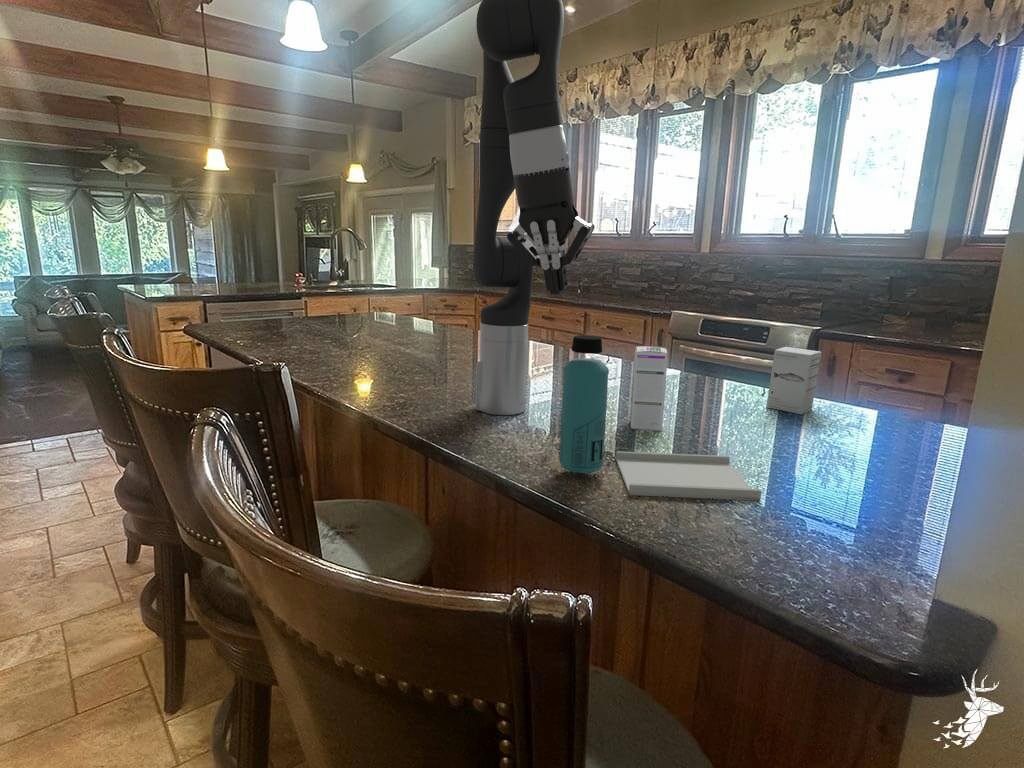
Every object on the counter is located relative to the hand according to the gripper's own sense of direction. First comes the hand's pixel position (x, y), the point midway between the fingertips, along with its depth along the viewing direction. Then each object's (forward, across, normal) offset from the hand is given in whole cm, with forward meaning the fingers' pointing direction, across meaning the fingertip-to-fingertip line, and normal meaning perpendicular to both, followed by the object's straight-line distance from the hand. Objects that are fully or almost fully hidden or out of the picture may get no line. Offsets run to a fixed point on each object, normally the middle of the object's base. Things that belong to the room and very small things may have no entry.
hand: (558, 293), depth 82 cm
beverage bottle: (+24, +4, -10) cm, 27 cm away
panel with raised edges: (+26, +17, -4) cm, 32 cm away
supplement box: (+41, +28, +46) cm, 68 cm away
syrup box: (+31, +6, +18) cm, 36 cm away
